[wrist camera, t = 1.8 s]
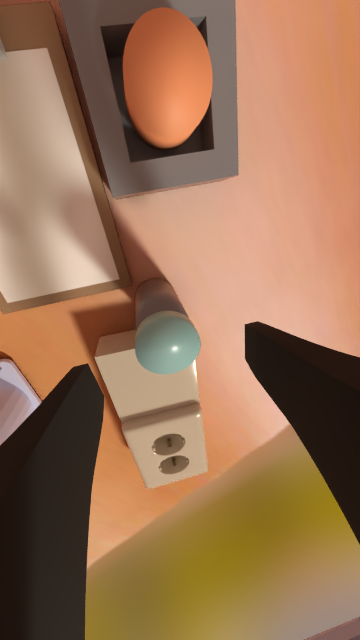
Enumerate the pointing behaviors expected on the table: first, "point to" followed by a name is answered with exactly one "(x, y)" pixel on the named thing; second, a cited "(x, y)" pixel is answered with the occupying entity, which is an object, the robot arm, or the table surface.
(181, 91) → the button
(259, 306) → the table surface
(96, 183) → the clipboard
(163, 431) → the electrical outlet
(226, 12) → the grey egg holder
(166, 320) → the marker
